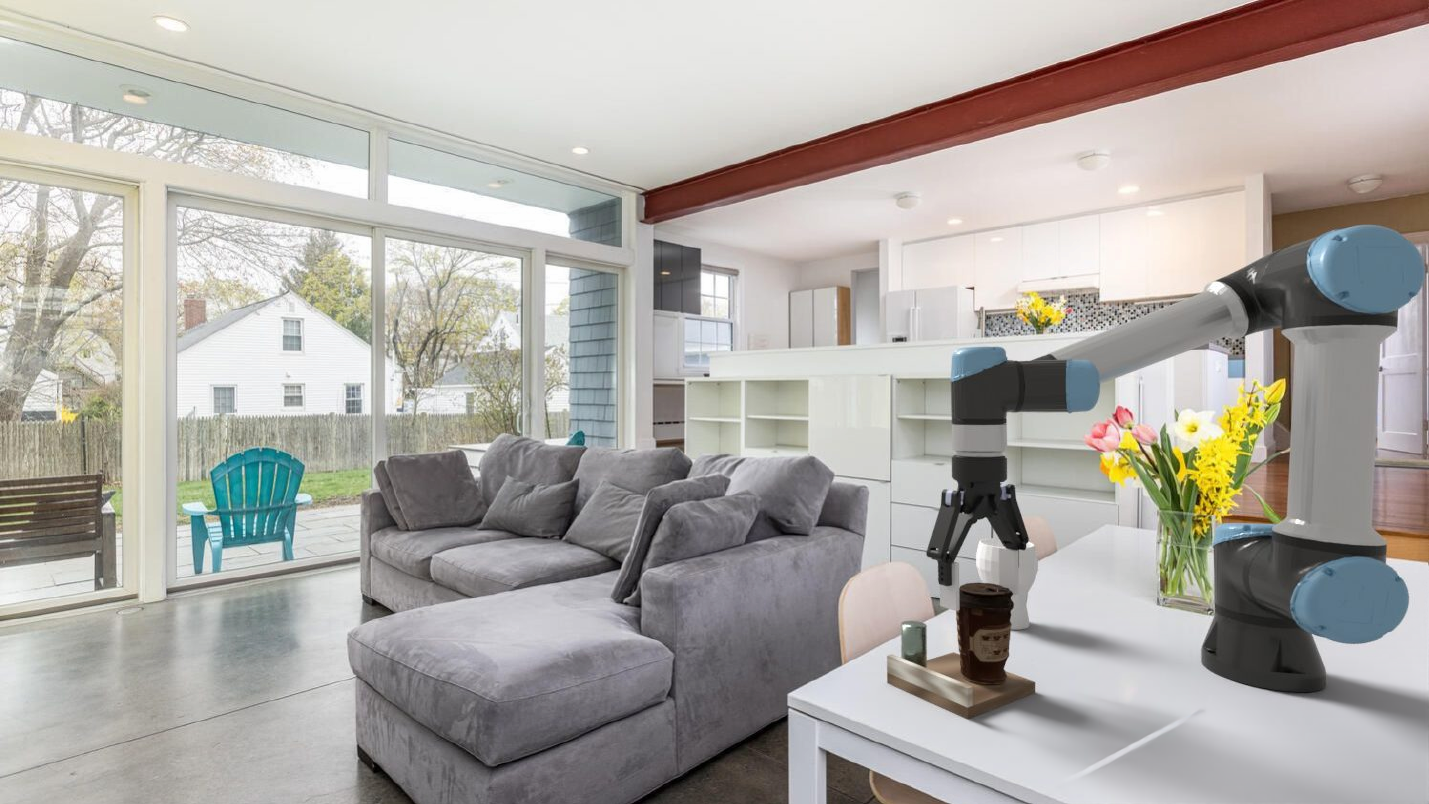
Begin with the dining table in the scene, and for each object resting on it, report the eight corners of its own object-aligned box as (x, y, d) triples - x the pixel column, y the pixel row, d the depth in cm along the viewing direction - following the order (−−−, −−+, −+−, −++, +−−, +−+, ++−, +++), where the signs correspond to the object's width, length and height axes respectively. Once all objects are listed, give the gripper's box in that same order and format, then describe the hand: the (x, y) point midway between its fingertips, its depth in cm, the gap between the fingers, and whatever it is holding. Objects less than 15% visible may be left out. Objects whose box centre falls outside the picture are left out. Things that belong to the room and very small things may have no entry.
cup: (1030, 636, 122) (1030, 551, 122) (968, 625, 128) (968, 544, 128) (1044, 621, 130) (1043, 541, 130) (985, 611, 137) (985, 535, 137)
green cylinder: (931, 673, 102) (931, 625, 102) (915, 678, 100) (915, 630, 100) (912, 665, 105) (912, 619, 105) (896, 670, 103) (896, 623, 103)
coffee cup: (1030, 683, 98) (1029, 592, 98) (985, 693, 95) (985, 598, 95) (983, 662, 106) (983, 577, 106) (940, 671, 103) (940, 583, 103)
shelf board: (1035, 692, 99) (1035, 664, 99) (967, 718, 91) (967, 688, 91) (953, 661, 111) (953, 636, 111) (887, 682, 102) (887, 655, 102)
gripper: (1008, 448, 111) (1009, 581, 111) (899, 456, 97) (900, 608, 97) (1053, 451, 104) (1054, 592, 104) (943, 460, 91) (944, 622, 91)
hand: (980, 600), depth 101 cm, fingers open, 13 cm apart
